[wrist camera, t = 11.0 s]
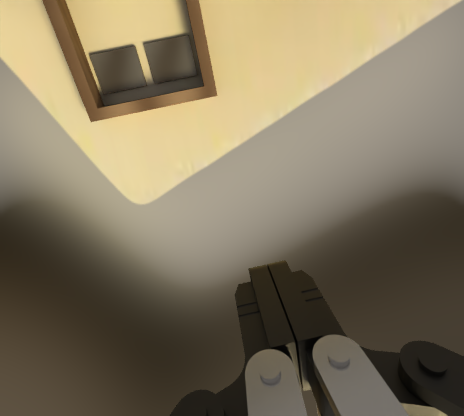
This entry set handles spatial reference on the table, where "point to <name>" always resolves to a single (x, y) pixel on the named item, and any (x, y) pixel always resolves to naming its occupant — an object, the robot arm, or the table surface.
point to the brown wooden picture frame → (133, 65)
